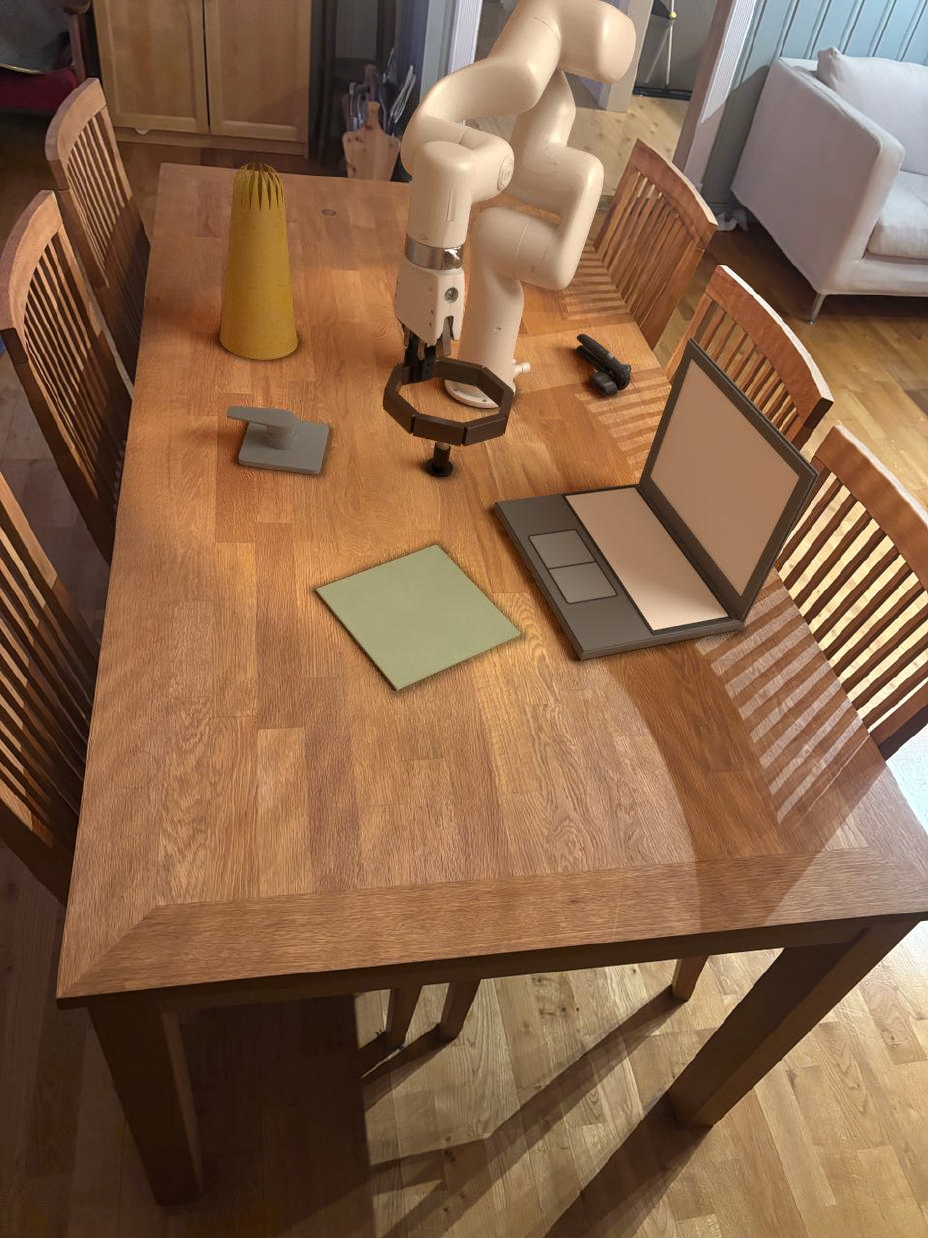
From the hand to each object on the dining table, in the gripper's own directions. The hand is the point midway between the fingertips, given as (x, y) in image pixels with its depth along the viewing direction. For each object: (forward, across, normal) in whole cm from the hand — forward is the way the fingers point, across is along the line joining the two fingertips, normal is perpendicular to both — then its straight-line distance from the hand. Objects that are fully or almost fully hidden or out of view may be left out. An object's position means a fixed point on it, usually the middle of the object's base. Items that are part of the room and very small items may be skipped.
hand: (417, 376), depth 136 cm
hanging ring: (+1, -8, 0) cm, 8 cm away
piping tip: (+19, +46, 0) cm, 50 cm away
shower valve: (+20, +18, +12) cm, 29 cm away
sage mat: (+20, -24, +13) cm, 34 cm away
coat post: (+20, +2, -8) cm, 21 cm away
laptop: (+20, -29, -18) cm, 40 cm away
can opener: (+19, +13, -52) cm, 57 cm away
